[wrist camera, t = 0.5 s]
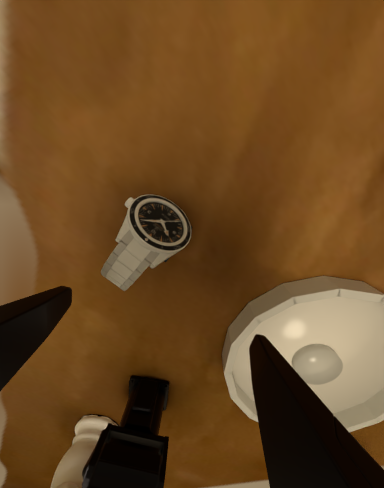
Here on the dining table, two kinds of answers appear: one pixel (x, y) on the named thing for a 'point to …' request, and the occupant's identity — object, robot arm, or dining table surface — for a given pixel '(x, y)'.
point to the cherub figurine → (79, 451)
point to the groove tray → (316, 345)
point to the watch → (146, 238)
